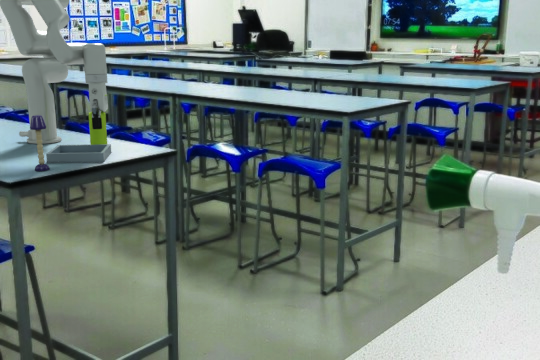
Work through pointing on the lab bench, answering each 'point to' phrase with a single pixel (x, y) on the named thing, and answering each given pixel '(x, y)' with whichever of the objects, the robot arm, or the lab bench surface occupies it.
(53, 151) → the tray
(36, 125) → the toy lamp
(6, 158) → the lab bench surface
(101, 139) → the soap dispenser
